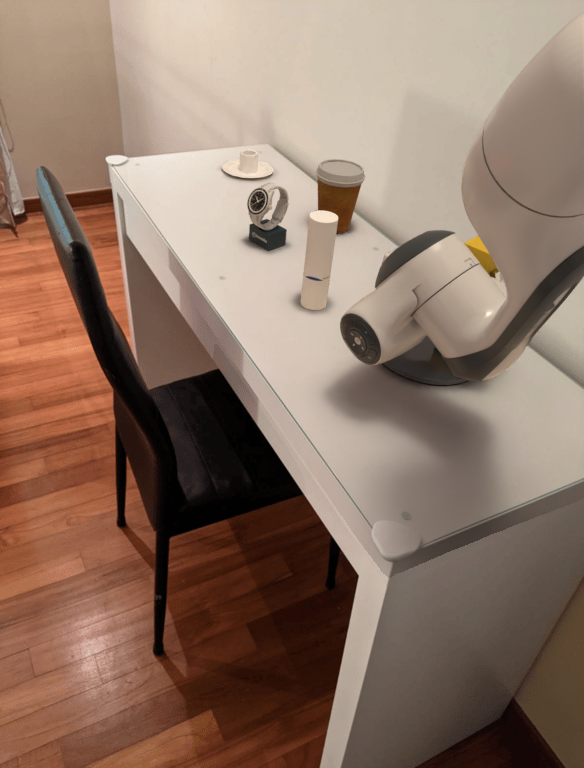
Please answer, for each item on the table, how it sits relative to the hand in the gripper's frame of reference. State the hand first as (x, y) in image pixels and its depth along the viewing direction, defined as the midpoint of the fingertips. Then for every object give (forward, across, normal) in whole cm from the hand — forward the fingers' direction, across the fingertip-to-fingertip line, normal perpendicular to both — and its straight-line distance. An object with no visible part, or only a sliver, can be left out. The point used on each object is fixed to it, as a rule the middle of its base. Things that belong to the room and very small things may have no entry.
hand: (481, 266), depth 91 cm
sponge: (-1, 0, +5) cm, 5 cm away
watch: (-5, +40, +11) cm, 42 cm away
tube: (-14, +20, +11) cm, 27 cm away
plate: (-10, 0, +11) cm, 15 cm away
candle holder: (+17, +69, +11) cm, 72 cm away
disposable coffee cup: (+11, +37, +11) cm, 40 cm away
